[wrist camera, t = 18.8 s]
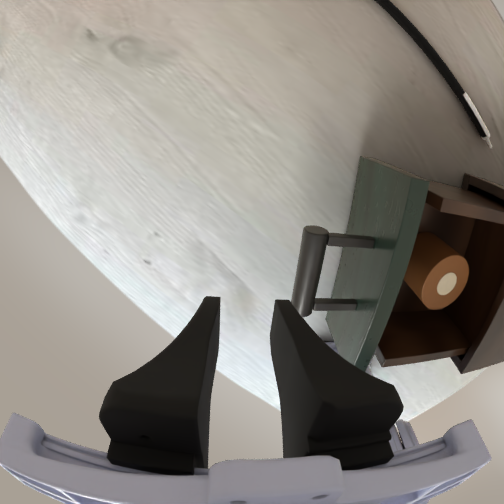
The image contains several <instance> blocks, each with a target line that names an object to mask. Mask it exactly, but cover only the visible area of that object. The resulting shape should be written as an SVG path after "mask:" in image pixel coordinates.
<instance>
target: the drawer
mask: <svg viewBox="0 0 504 504" xmlns="http://www.w3.org/2000/svg"><path fill="white" fill-rule="evenodd" d="M423 232H429V233H433V234H434V235H436V236H437V237H439V238H440V239H441V240H442V241H444V242H445V243H446V244H448V245H449V246H450V247H451V248H453V249H454V250H455V251H456V252H458V253H459V254H460V255H461V256H463V257H464V258H465V259H466V261H467V263H468V266H469V275H468V280H467V283H466V285H465V287H464V289H463V291H462V292H461V294H460V295H459V296H458V297H457V298H456V300H454V301H453V302H452V303H451V304H449V305H448V306H446V307H444V308H441V309H437V310H433V309H429V308H427V307H426V306H425V305H424V304H423V302H422V301H421V300H420V299H419V298H418V296H417V295H416V294H415V293H414V291H413V290H412V289H411V288H410V287H409V286H408V284H407V283H406V282H405V281H404V280H403V279H404V276H405V273H406V270H407V267H408V264H409V261H410V257H411V254H412V251H413V247H414V244H415V240H416V237H417V234H419V233H423ZM326 245H328V246H339V247H343V251H342V256H341V260H340V265H339V269H338V273H337V277H336V281H335V285H334V289H333V293H332V297H331V298H315V296H316V292H317V287H318V283H319V278H320V274H321V269H322V264H323V260H324V255H325V250H326ZM503 280H504V205H502V204H500V203H498V202H496V201H494V200H492V199H490V198H488V197H486V196H484V195H482V194H479V193H476V192H472V191H469V190H465V189H461V188H458V187H454V186H450V185H446V184H442V183H438V182H434V181H429V180H426V179H423V178H421V177H419V176H416V175H414V174H412V173H409V172H407V171H405V170H402V169H400V168H397V167H395V166H392V165H390V164H387V163H385V162H382V161H379V160H377V159H373V158H368V157H363V156H360V161H359V167H358V174H357V180H356V186H355V191H354V197H353V202H352V208H351V213H350V218H349V223H348V228H347V233H346V234H339V233H329V232H328V230H326V229H325V228H322V227H319V226H306V227H304V229H303V235H302V241H301V248H300V254H299V260H298V266H297V272H296V277H295V283H294V289H293V294H292V300H291V303H292V304H293V306H294V307H295V308H296V310H297V311H298V312H299V314H300V315H301V316H302V317H307V316H309V315H310V314H311V313H312V309H313V310H314V311H328V312H327V316H326V321H327V324H328V327H329V329H330V332H331V335H332V337H333V340H334V343H335V345H336V348H337V351H338V353H339V355H340V356H341V357H343V358H344V359H346V360H347V361H348V362H350V363H351V364H353V365H354V366H356V367H357V368H359V369H361V370H362V371H364V372H366V370H367V368H368V365H369V363H370V361H371V359H372V357H373V355H374V352H375V354H376V356H377V359H378V361H379V363H380V365H381V367H388V366H397V365H404V364H411V363H418V362H424V361H430V360H436V359H442V358H447V357H452V356H457V355H462V354H466V353H467V352H468V350H469V348H470V347H471V345H472V343H473V341H474V340H475V338H476V336H477V334H478V332H479V330H480V329H481V327H482V325H483V323H484V321H485V319H486V317H487V315H488V313H489V311H490V309H491V307H492V305H493V303H494V300H495V298H496V296H497V294H498V292H499V289H500V287H501V285H502V282H503Z"/></svg>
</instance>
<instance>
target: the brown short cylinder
mask: <svg viewBox="0 0 504 504" xmlns="http://www.w3.org/2000/svg"><path fill="white" fill-rule="evenodd" d="M468 275H469V266H468V263H467V261H466V259H465V258H464V257H463V256H461V255H460V254H459V253H458V252H456V251H455V250H454V249H453V248H451V247H450V246H449V245H448V244H446V243H445V242H444V241H442V240H441V239H440V238H439V237H437V236H436V235H434V234H433V233H429V232H423V233H419V234H417V237H416V240H415V244H414V247H413V251H412V254H411V257H410V261H409V264H408V267H407V270H406V273H405V276H404V279H403V280H404V281H405V282H406V283H407V284H408V286H409V287H410V288H411V289H412V290H413V291H414V293H415V294H416V295H417V296H418V298H419V299H420V300H421V301H422V302H423V304H424V305H425V306H426V307H427V308H429V309H433V310H437V309H441V308H444V307H446V306H448V305H449V304H451V303H452V302H453V301H454V300H456V298H457V297H458V296H459V295H460V294H461V292H462V291H463V289H464V287H465V285H466V283H467V280H468Z"/></svg>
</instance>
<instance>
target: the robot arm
mask: <svg viewBox="0 0 504 504" xmlns="http://www.w3.org/2000/svg"><path fill="white" fill-rule="evenodd" d="M219 331H220V297H211V296H206V297H205V298H204V299H203V301H202V303H201V305H200V307H199V308H198V310H197V312H196V313H195V315H194V316H193V317H192V319H191V320H190V322H189V323H188V324H187V326H186V327H185V328H184V329H183V330H182V332H181V333H180V334H179V335H178V336H177V337H176V338H175V339H174V341H173V342H172V343H171V344H170V345H168V346H167V347H166V348H165V349H164V350H163V351H162V352H161V353H159V354H158V355H157V356H156V357H155V358H153V359H152V360H151V361H149V362H148V363H146V364H145V365H143V366H142V367H140V368H139V369H137V370H136V371H134V372H132V373H130V374H128V375H126V376H124V377H122V378H120V379H118V380H116V381H114V382H113V383H112V385H111V387H110V389H109V390H108V392H107V394H106V396H105V399H104V401H103V404H102V407H101V410H100V414H99V418H100V421H101V423H102V425H103V427H104V428H105V430H106V432H107V433H108V435H109V437H110V438H111V442H110V445H109V449H108V453H105V452H102V451H98V450H94V449H91V448H87V447H84V446H81V445H77V444H74V443H71V442H68V441H65V440H62V439H59V438H56V437H53V436H51V435H48V434H46V433H45V432H44V430H43V429H42V428H41V427H40V425H39V424H37V423H36V422H34V421H32V420H30V419H28V418H26V417H23V416H21V415H19V414H16V413H12V415H11V417H10V419H9V421H8V423H7V425H6V427H5V429H4V432H3V434H2V436H1V438H0V465H1V466H2V467H3V468H4V469H5V470H7V471H8V472H9V473H10V474H11V475H13V476H14V477H15V478H17V479H18V480H19V481H20V482H22V483H23V484H25V485H27V486H29V487H30V488H32V489H35V490H37V491H38V492H41V493H43V494H45V495H47V496H49V497H51V498H54V499H56V500H58V501H60V502H62V503H65V504H427V503H428V501H429V500H430V498H432V497H435V496H437V495H439V494H441V493H443V492H445V491H448V490H450V489H452V488H453V487H456V486H458V485H459V484H461V483H462V482H464V481H465V480H466V479H468V478H469V477H470V476H472V475H473V474H474V473H476V472H477V471H478V470H479V469H481V468H482V467H483V466H484V465H486V464H487V463H488V462H489V461H490V460H491V456H490V454H489V452H488V450H487V448H486V446H485V444H484V442H483V440H482V438H481V436H480V434H479V432H478V430H477V428H476V426H475V424H474V422H473V421H472V420H471V419H470V420H467V421H465V422H463V423H460V424H457V425H455V426H453V427H452V428H450V429H449V430H448V431H447V432H446V433H445V434H444V436H443V437H441V438H438V439H436V440H433V441H430V442H426V443H423V444H420V445H419V443H418V440H417V438H416V436H415V433H414V431H413V429H412V427H411V425H410V423H409V422H407V421H403V420H402V419H400V420H398V418H399V417H400V415H401V413H402V412H403V407H404V406H403V404H402V402H401V399H400V397H399V394H398V392H397V391H396V389H395V387H394V385H392V384H389V383H387V382H385V381H382V380H380V379H378V378H375V377H373V374H372V372H371V370H370V367H369V365H368V368H367V370H366V372H364V371H362V370H361V369H359V368H357V367H356V366H354V365H353V364H351V363H350V362H348V361H347V360H346V359H344V358H343V357H341V356H340V355H339V353H338V351H337V348H336V345H335V343H334V342H324V341H323V340H322V339H321V338H320V337H319V336H318V335H317V334H316V333H315V332H314V331H313V330H312V328H311V327H310V326H309V325H308V324H307V323H306V321H305V320H304V319H303V318H302V316H301V315H300V314H299V312H298V311H297V310H296V308H295V307H294V306H293V304H292V303H291V302H290V301H289V300H275V305H274V312H273V318H272V325H271V331H270V344H271V356H272V361H273V366H274V371H275V376H276V381H277V386H278V391H279V397H280V406H281V419H282V435H283V458H278V459H237V460H225V461H222V462H219V463H215V464H214V465H213V466H212V467H211V468H210V469H208V446H209V421H210V401H211V392H212V386H213V380H214V374H215V369H216V363H217V357H218V349H219ZM374 354H375V352H374ZM373 356H374V355H373ZM372 358H373V357H372ZM371 360H372V359H371ZM370 362H371V361H370ZM369 364H370V363H369ZM397 420H398V421H397ZM396 421H397V422H396ZM395 422H396V425H397V428H398V430H399V435H400V437H399V435H398V432H397V430H396V427H395V425H394V424H395ZM400 438H401V440H400ZM401 441H402V442H401Z"/></svg>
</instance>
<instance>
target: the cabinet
mask: <svg viewBox="0 0 504 504" xmlns="http://www.w3.org/2000/svg"><path fill="white" fill-rule="evenodd" d="M462 189H465V190H469V191H472V192H476V193H479V194H482V195H484V196H486V197H488V198H490V199H492V200H494V201H496V202H498V203H500V204H502V205H504V186H501V185H499V184H496V183H493V182H491V181H488V180H485V179H482V178H479V177H476V176H473V175H470V174H467V173H465V174H464V179H463V184H462ZM450 358H451V359H452V361H453V362H454V364H455V365H456V367H457V368H458V370H459V371H460V373H461V374H463V373H467V372H471V371H474V370H478V369H481V368H484V367H488V366H491V365H494V364H497V363H500V362H503V361H504V280H503V282H502V285H501V287H500V289H499V292H498V294H497V296H496V298H495V300H494V303H493V305H492V307H491V309H490V311H489V313H488V315H487V317H486V319H485V321H484V323H483V325H482V327H481V329H480V330H479V332H478V334H477V336H476V338H475V340H474V341H473V343H472V345H471V347H470V348H469V350H468V352H467V353H466V354H462V355H457V356H452V357H450Z"/></svg>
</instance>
